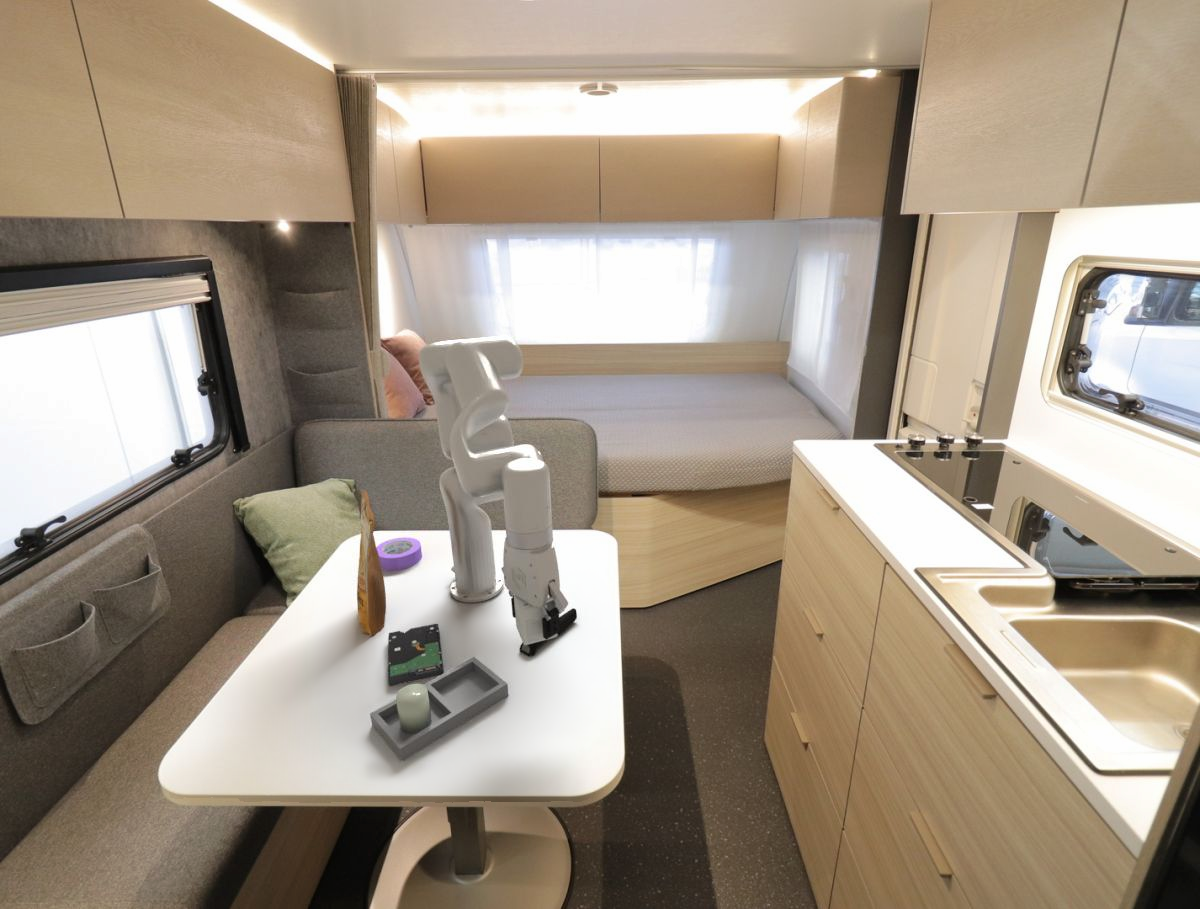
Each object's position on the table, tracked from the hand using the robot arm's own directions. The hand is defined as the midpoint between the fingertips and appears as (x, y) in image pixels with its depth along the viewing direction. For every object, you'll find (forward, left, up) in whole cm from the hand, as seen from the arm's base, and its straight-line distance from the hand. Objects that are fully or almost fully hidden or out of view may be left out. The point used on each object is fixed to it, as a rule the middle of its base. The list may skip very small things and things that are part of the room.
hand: (535, 624), depth 105 cm
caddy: (-11, -14, -16) cm, 24 cm away
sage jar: (-11, -19, -15) cm, 27 cm away
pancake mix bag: (-48, -9, -16) cm, 51 cm away
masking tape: (-69, +7, -16) cm, 71 cm away
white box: (0, 0, -2) cm, 2 cm away
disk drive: (-28, -10, -17) cm, 34 cm away
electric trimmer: (-14, +13, -16) cm, 25 cm away
